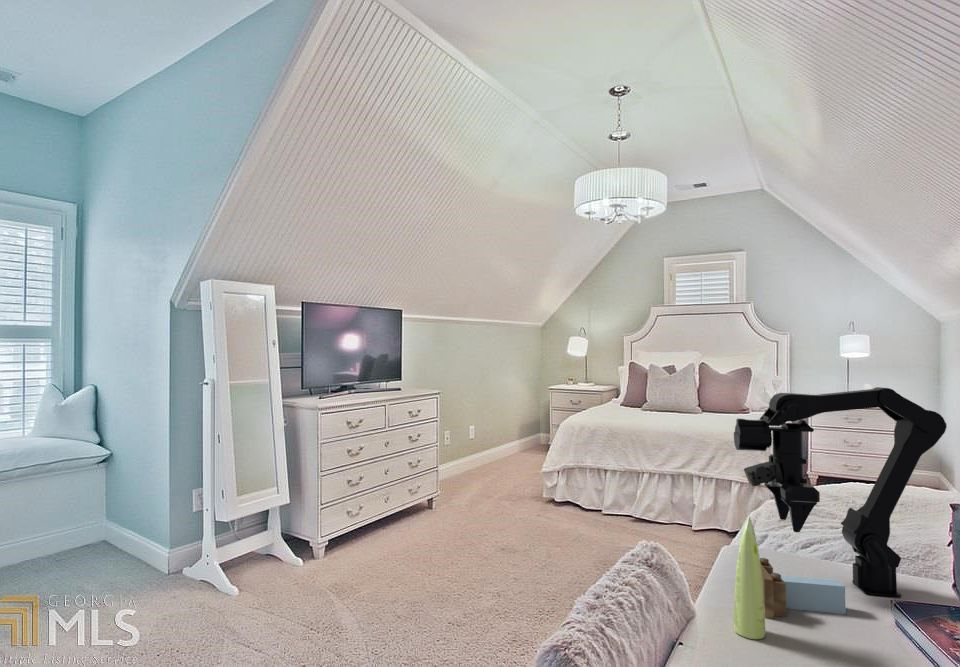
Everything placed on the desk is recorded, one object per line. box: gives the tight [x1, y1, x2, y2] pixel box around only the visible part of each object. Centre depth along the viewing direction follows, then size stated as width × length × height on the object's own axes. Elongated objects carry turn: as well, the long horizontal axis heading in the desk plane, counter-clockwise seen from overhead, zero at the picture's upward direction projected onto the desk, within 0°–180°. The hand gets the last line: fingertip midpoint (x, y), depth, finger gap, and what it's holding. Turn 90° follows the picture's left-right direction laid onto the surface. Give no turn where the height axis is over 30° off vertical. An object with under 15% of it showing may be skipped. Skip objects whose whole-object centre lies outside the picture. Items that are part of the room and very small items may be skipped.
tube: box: [733, 513, 766, 640], centre depth 96 cm, size 6×5×20 cm
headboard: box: [759, 557, 787, 620], centre depth 108 cm, size 4×14×7 cm, turn 167°
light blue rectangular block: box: [768, 573, 847, 615], centre depth 107 cm, size 13×3×5 cm, turn 77°
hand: (789, 525), depth 118 cm, fingers open, 9 cm apart
